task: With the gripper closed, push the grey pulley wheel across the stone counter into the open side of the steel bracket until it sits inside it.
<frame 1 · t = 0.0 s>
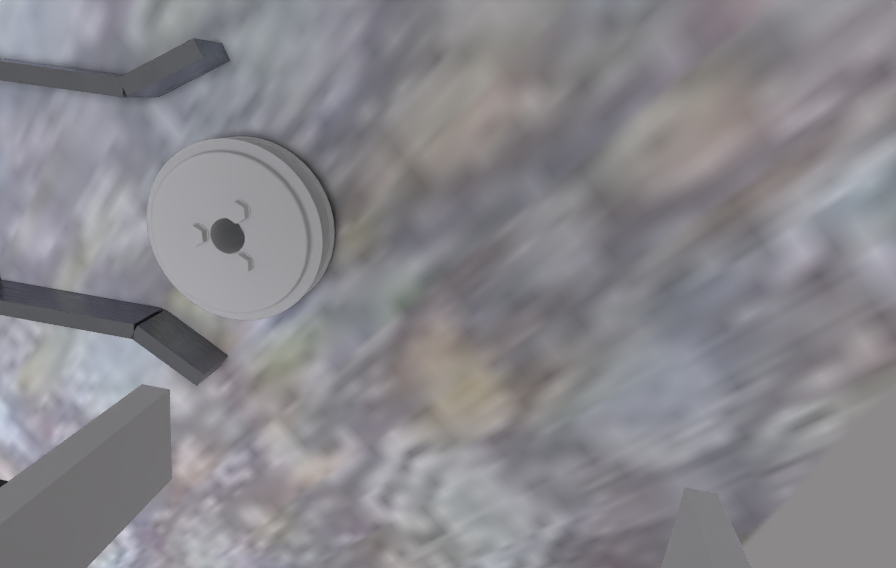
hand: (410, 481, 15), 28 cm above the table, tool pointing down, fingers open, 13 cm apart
steel bracket: (72, 194, 45), on the table
grey pulley wheel: (257, 222, 44), on the table
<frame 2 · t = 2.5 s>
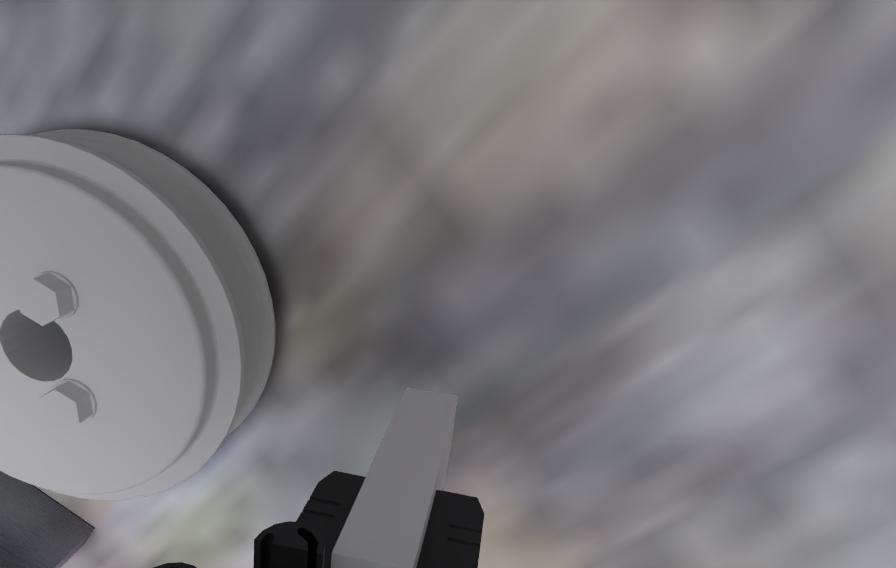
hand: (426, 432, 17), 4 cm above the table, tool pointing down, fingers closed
grey pulley wheel: (130, 297, 23), on the table
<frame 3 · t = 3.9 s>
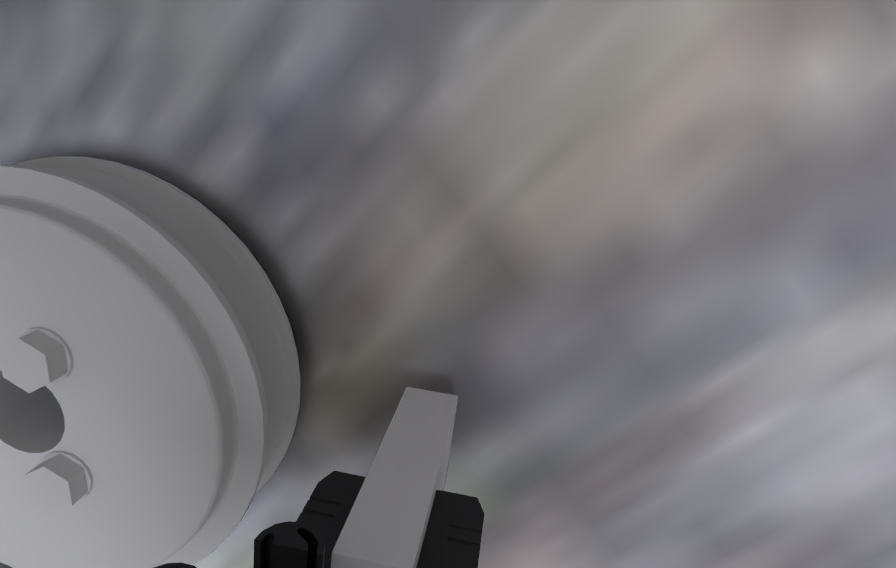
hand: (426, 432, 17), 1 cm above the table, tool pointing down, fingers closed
grey pulley wheel: (132, 345, 20), on the table
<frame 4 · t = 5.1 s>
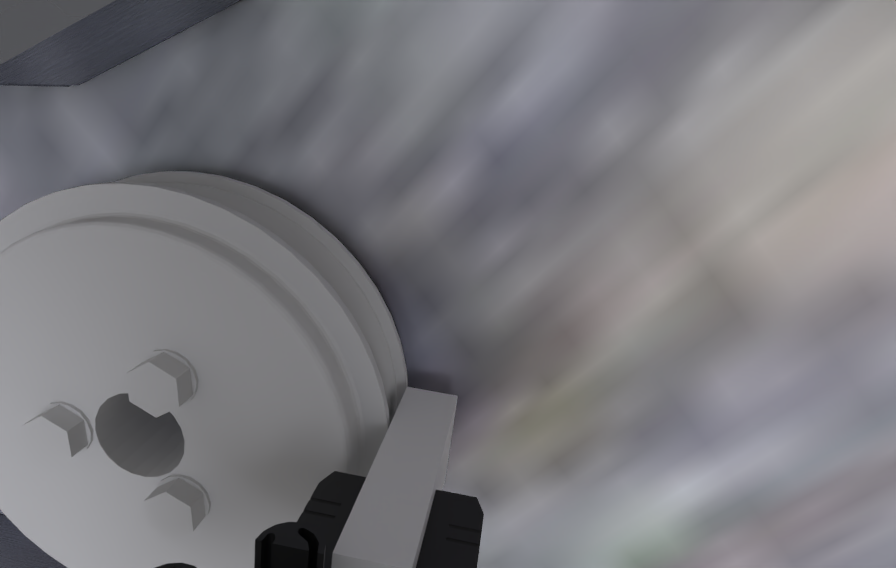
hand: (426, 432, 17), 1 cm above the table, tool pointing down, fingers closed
grey pulley wheel: (226, 361, 19), on the table, touching gripper
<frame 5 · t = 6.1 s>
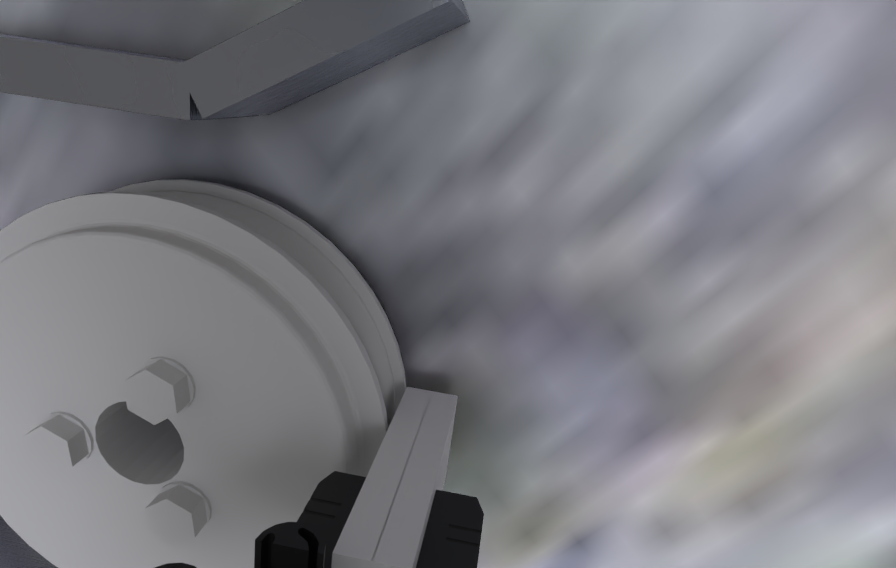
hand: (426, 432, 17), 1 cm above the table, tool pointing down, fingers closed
steel bracket: (50, 334, 20), on the table
grey pulley wheel: (225, 367, 20), on the table, touching gripper
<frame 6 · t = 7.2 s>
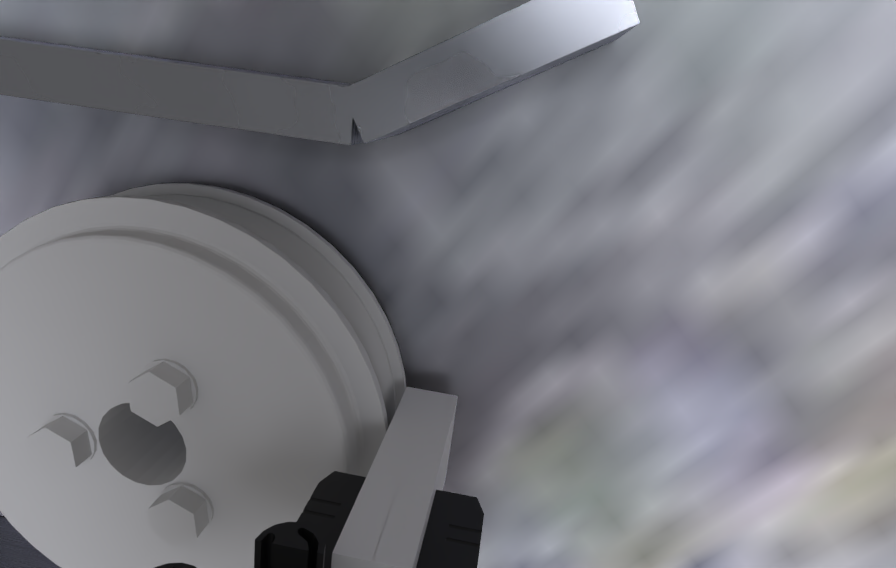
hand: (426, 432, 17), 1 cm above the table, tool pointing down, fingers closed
steel bracket: (156, 355, 19), on the table
grey pulley wheel: (227, 369, 20), on the table
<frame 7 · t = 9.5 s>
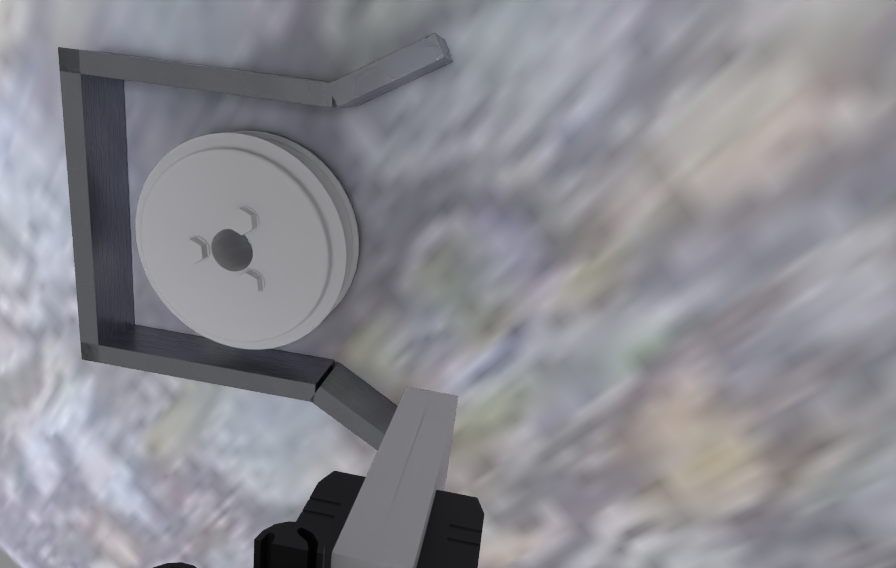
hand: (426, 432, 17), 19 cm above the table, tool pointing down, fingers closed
steel bracket: (233, 225, 37), on the table
grey pulley wheel: (266, 233, 37), on the table
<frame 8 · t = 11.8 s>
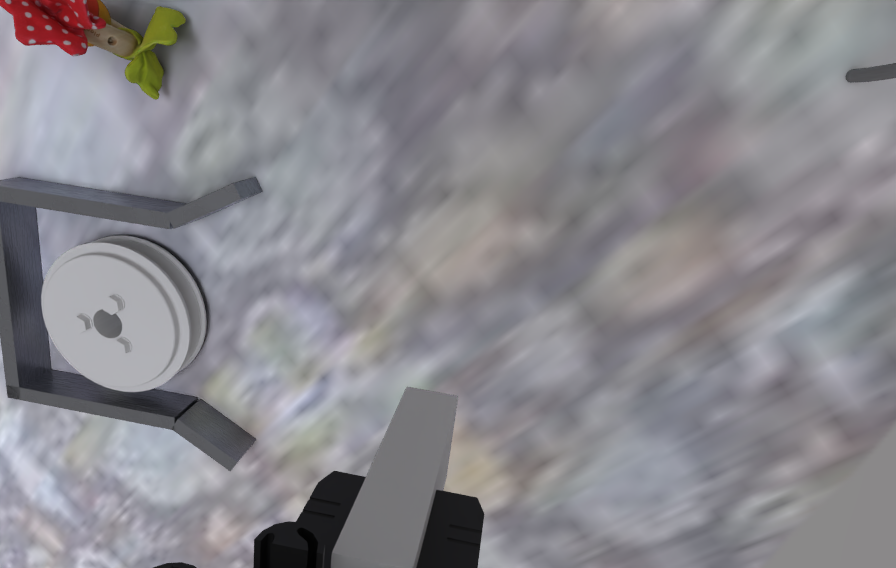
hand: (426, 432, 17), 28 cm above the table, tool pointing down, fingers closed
steel bracket: (118, 299, 50), on the table
grey pulley wheel: (143, 304, 51), on the table
bird rattle: (138, 37, 44), on the table
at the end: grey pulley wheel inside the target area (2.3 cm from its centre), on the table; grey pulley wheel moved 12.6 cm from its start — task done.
